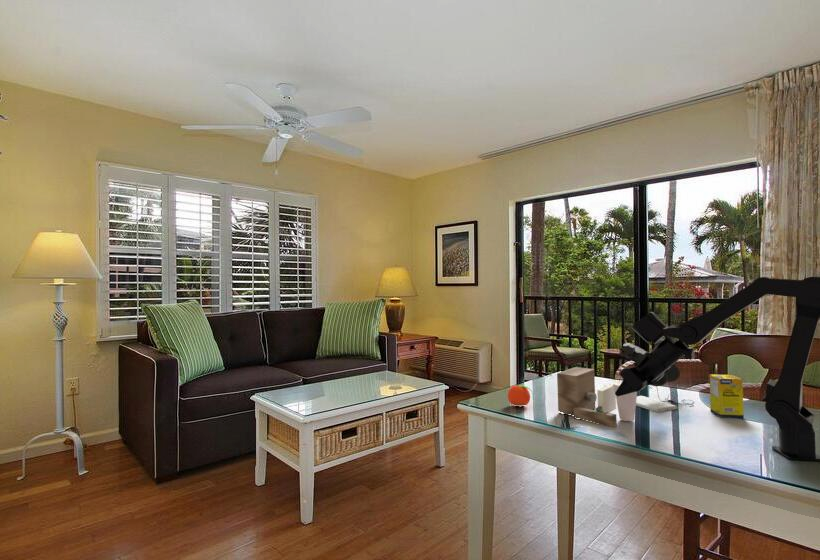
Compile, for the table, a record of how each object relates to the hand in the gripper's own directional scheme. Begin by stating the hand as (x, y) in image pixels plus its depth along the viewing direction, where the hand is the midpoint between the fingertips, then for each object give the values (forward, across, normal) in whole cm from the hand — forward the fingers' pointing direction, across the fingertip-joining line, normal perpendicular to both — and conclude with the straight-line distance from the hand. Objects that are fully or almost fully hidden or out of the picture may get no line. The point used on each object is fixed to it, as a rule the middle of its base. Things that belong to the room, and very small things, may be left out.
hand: (620, 392), depth 121 cm
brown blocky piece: (+11, +1, 0) cm, 11 cm away
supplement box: (-8, -24, +20) cm, 32 cm away
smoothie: (+4, 0, +6) cm, 7 cm away
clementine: (+25, +7, -14) cm, 30 cm away
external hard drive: (+5, -20, +7) cm, 22 cm away
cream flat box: (+7, +1, +2) cm, 7 cm away
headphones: (+2, -27, +10) cm, 29 cm away
